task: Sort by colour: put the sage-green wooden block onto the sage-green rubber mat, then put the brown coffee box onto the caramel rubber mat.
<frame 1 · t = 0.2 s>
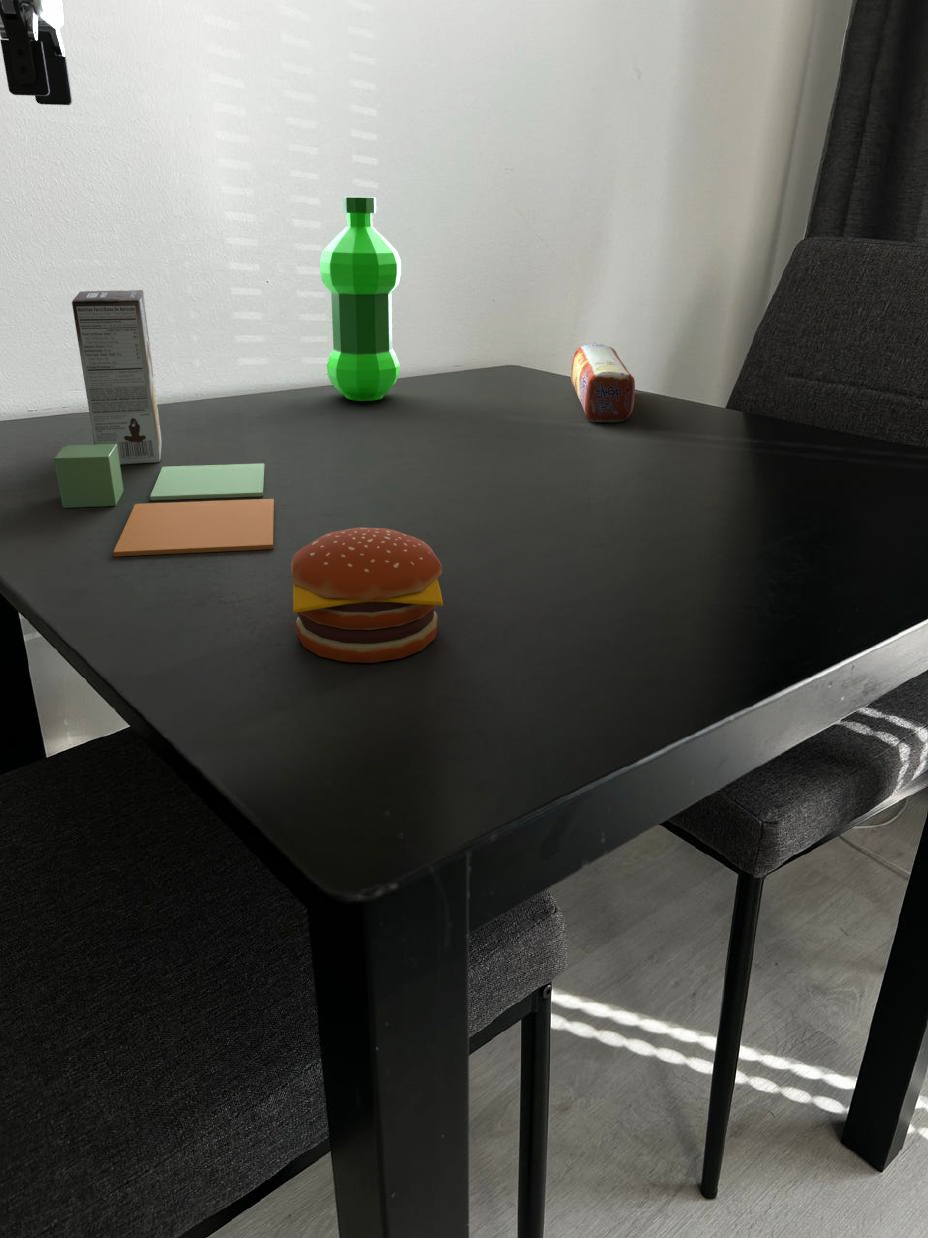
hand: (43, 99, 83), 33 cm above the table, tool pointing down, fingers open, 9 cm apart
hamburger: (366, 634, 59), on the table
green mat: (210, 482, 88), on the table
snack package: (600, 407, 123), on the table
green block: (94, 499, 83), on the table
plastic bottle: (364, 398, 126), on the table
caramel mat: (200, 527, 76), on the table
coffee box: (131, 455, 97), on the table
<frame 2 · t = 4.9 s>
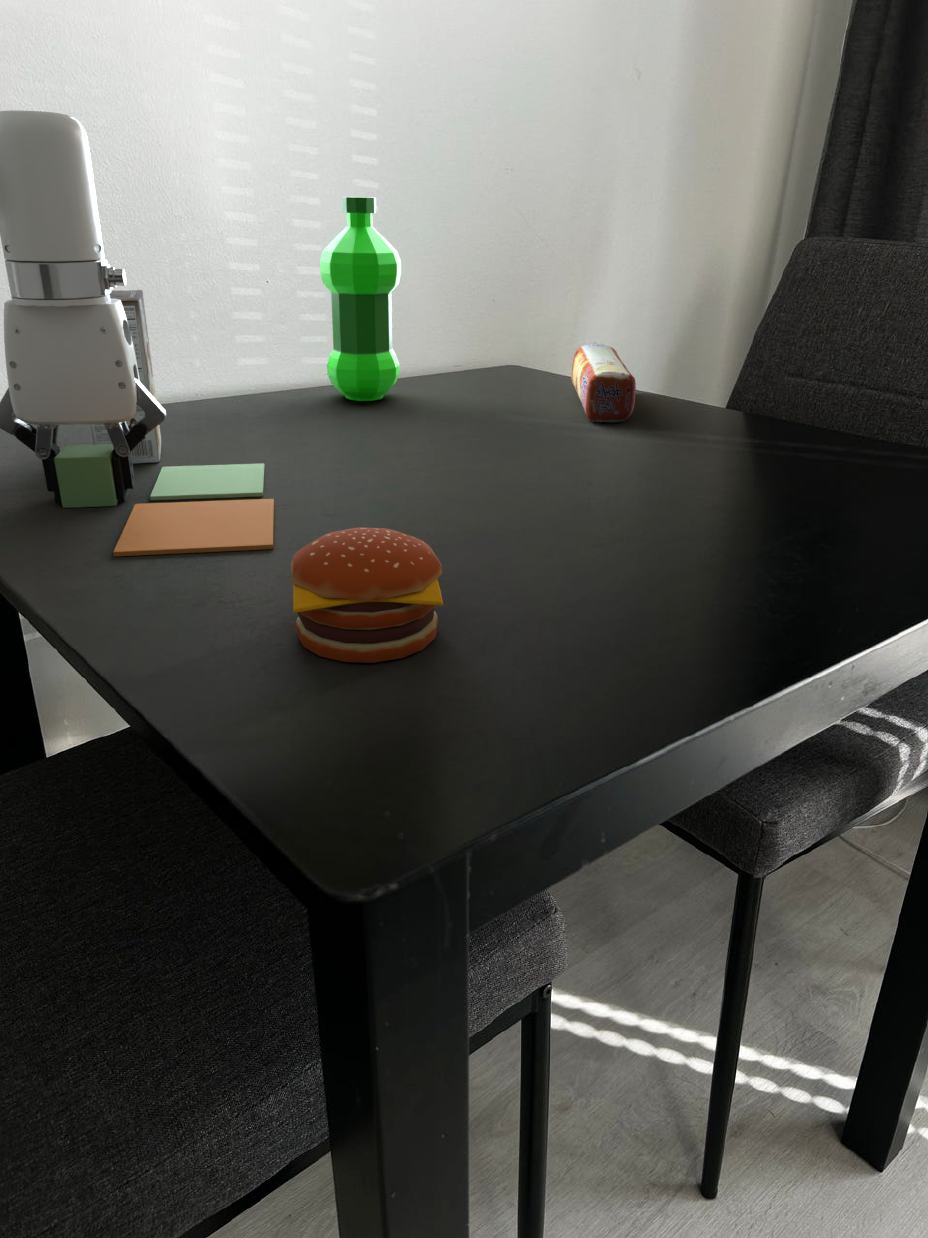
hand: (93, 495, 82), 0 cm above the table, tool pointing down, fingers closed on green block, 4 cm apart
green block: (94, 499, 83), on the table, touching gripper
everything else where it was.
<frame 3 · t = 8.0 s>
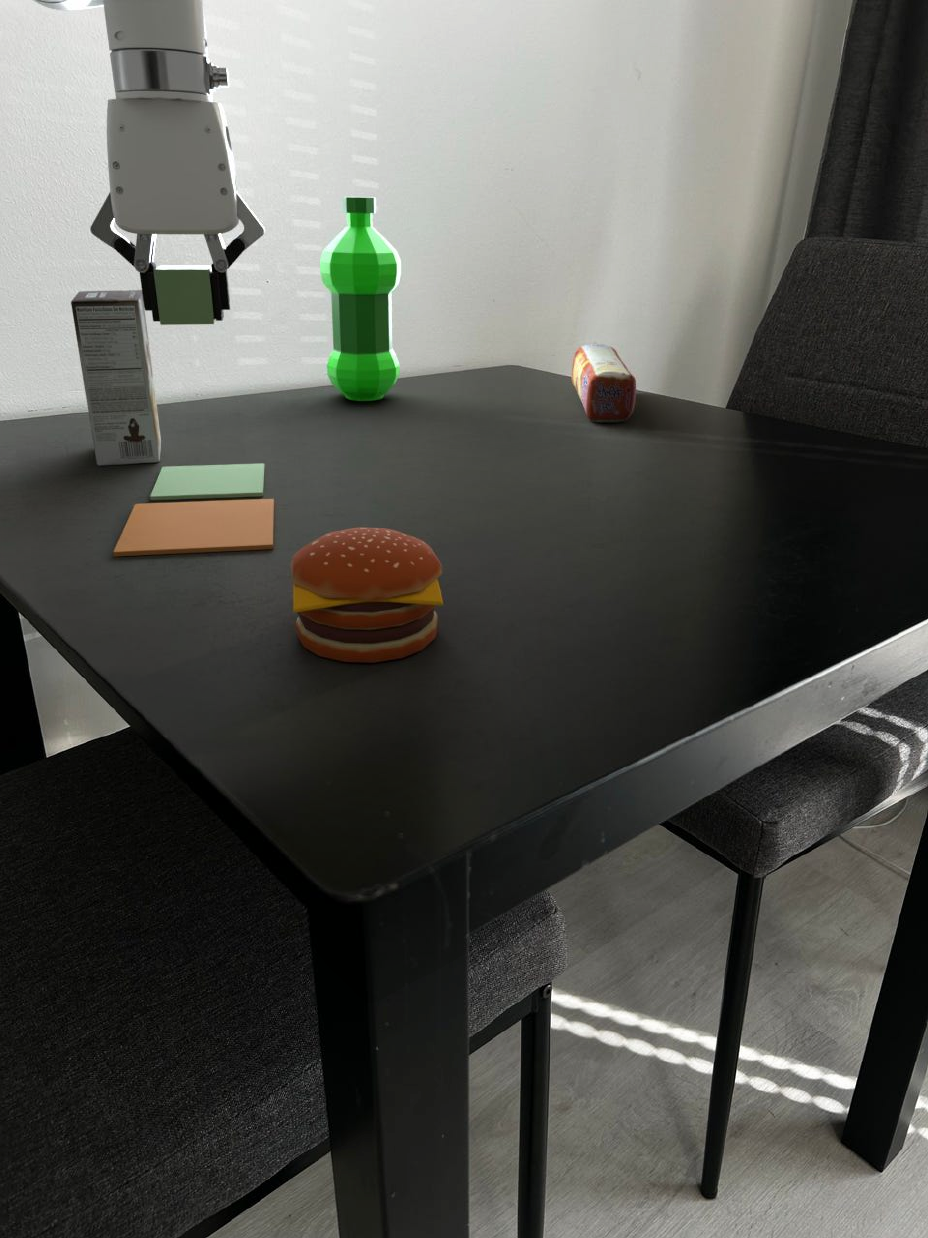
hand: (189, 316, 81), 15 cm above the table, tool pointing down, fingers closed on green block, 4 cm apart
green block: (189, 321, 81), point 15 cm above the table, touching gripper
everything else where it was.
when the fingers open (1 cm above the table, at t = 11.6 s): green block stays where it is, resting on green mat.
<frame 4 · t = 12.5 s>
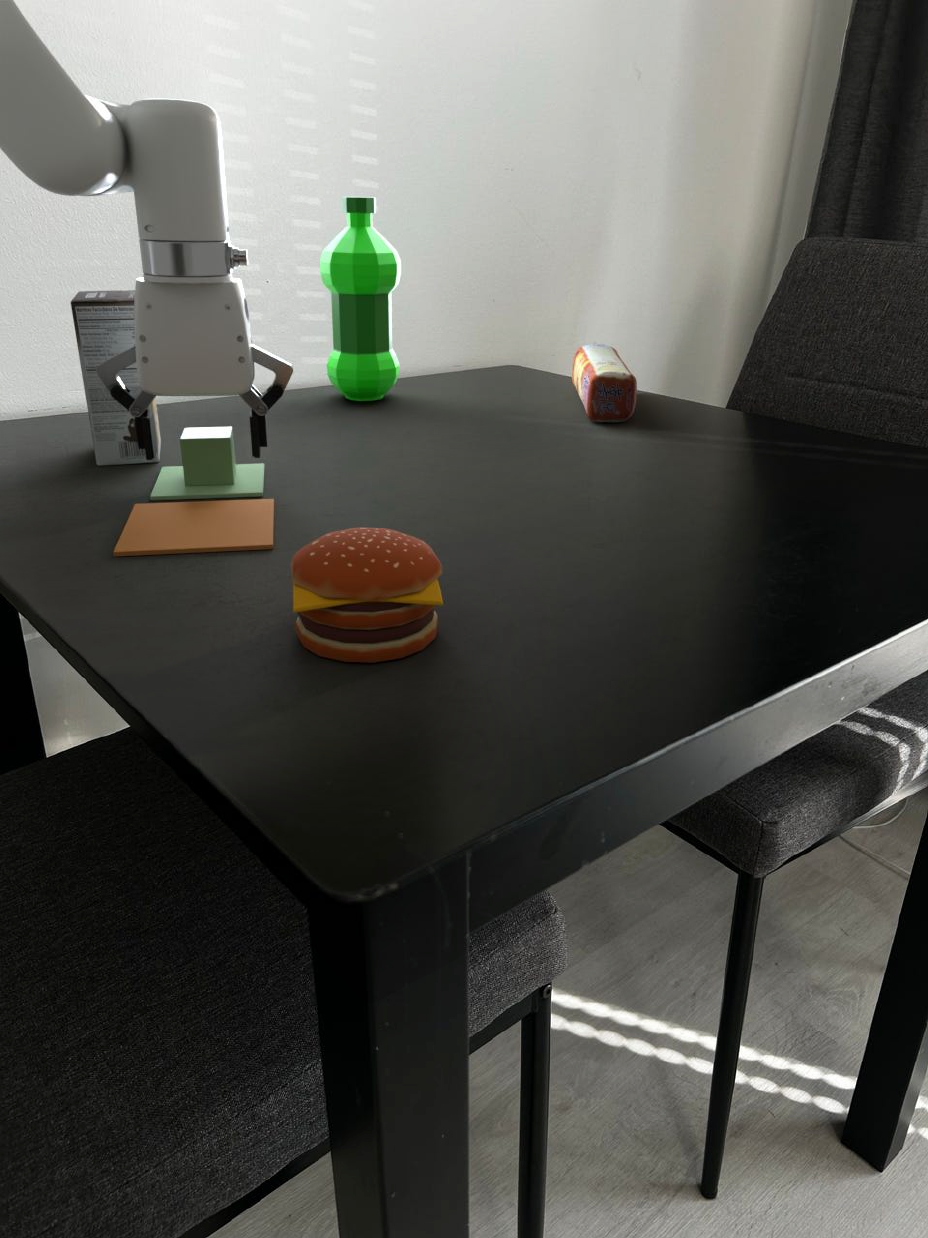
hand: (205, 455, 87), 3 cm above the table, tool pointing down, fingers open, 9 cm apart
green block: (211, 478, 88), resting on green mat
everything else where it was.
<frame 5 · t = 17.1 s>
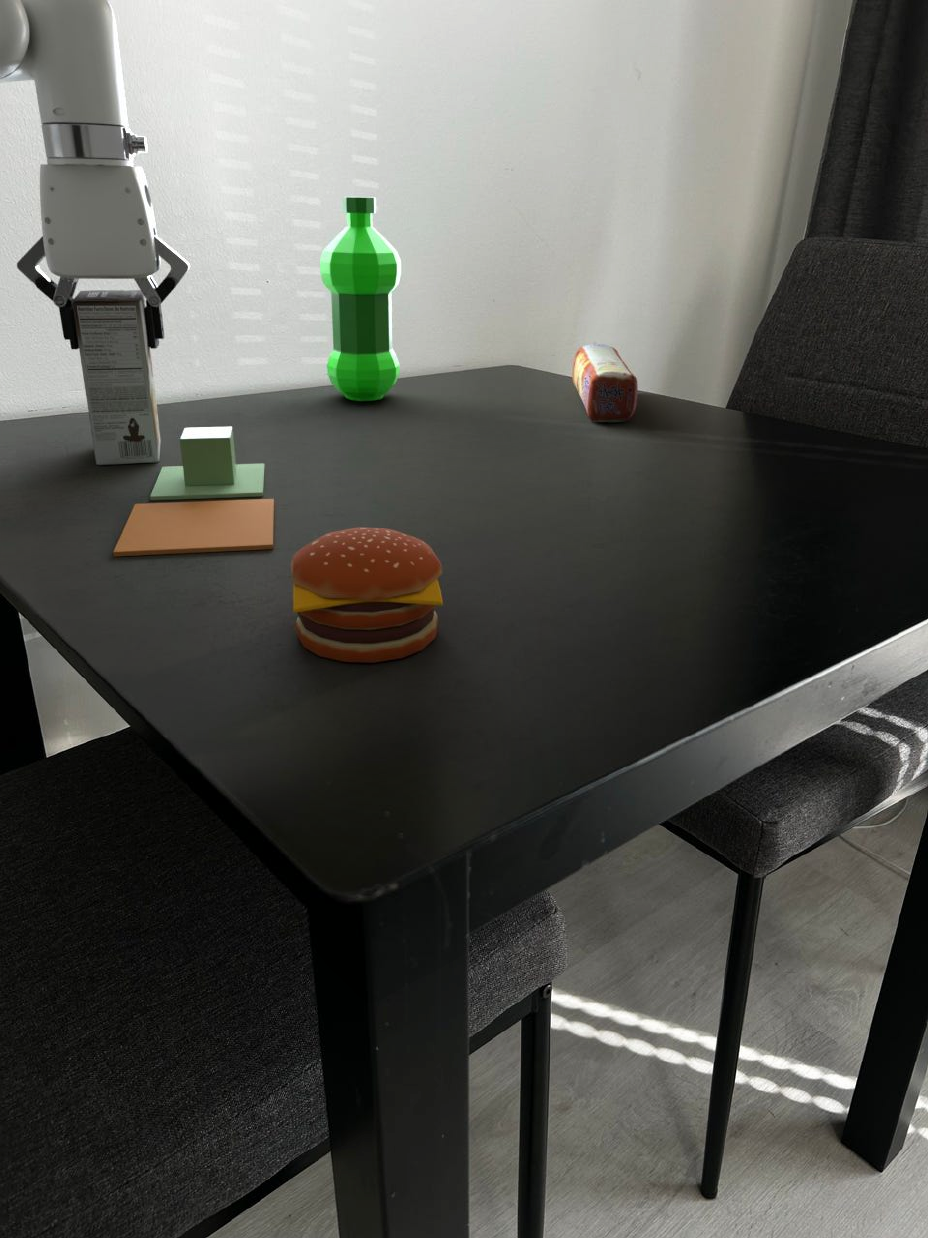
hand: (116, 345, 92), 11 cm above the table, tool pointing down, fingers closed on coffee box, 6 cm apart
coffee box: (130, 455, 97), on the table, touching gripper
everything else where it was.
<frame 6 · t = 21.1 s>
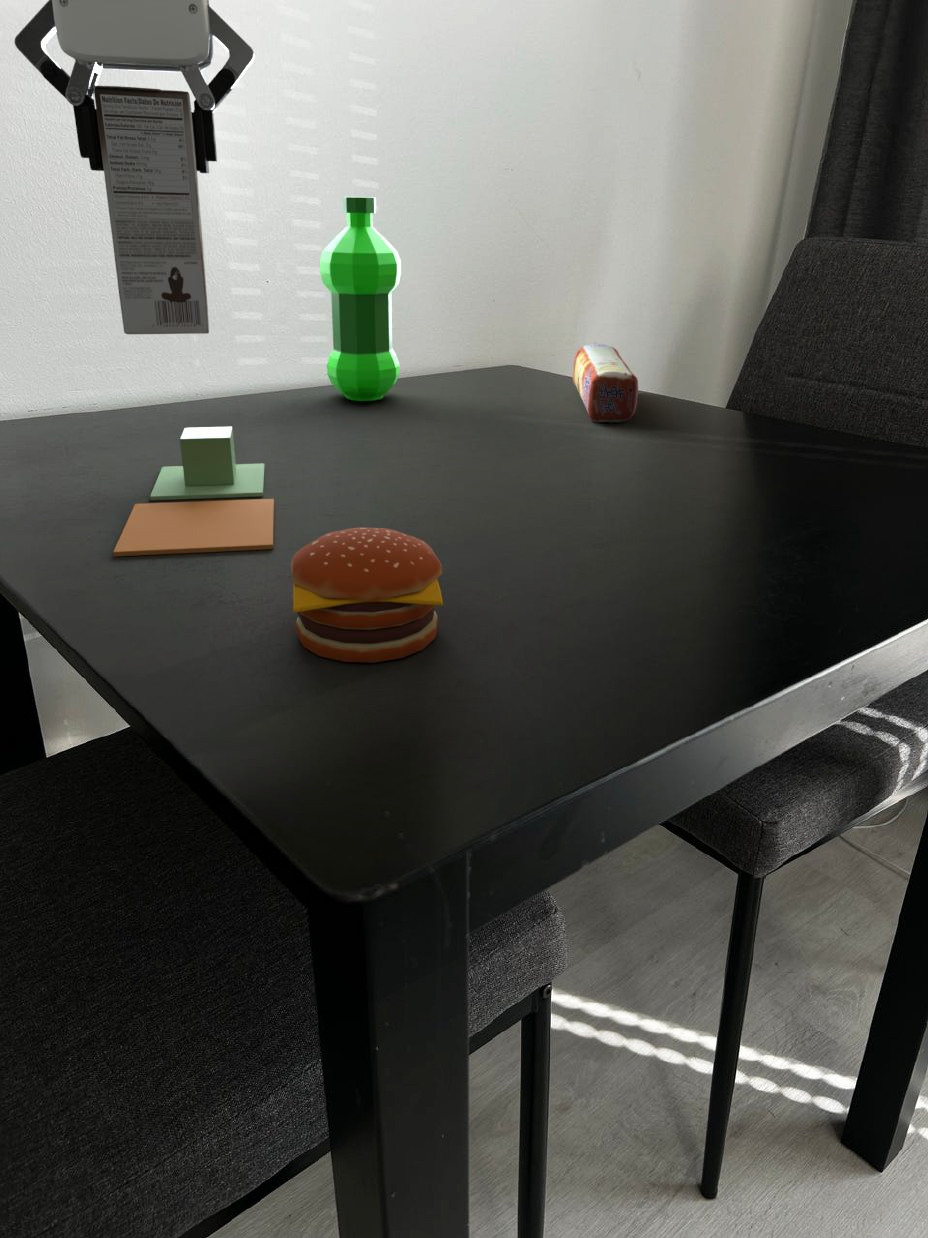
hand: (151, 169, 67), 27 cm above the table, tool pointing down, fingers closed on coffee box, 6 cm apart
coffee box: (168, 329, 72), point 16 cm above the table, touching gripper
everything else where it was.
when the fingers open (12 cm above the table, at t = 25.2 s): coffee box stays where it is, resting on caramel mat.
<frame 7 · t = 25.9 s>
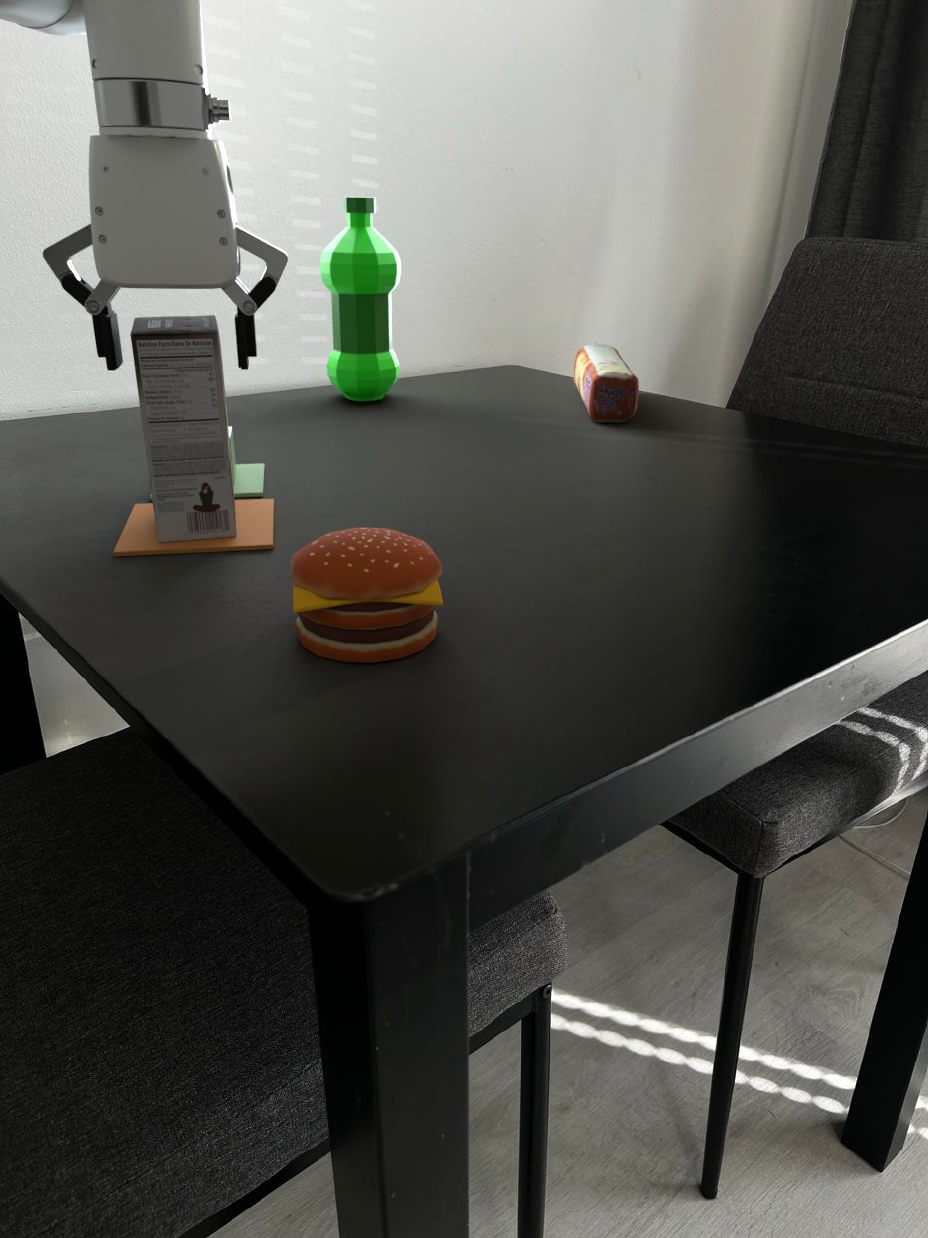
hand: (180, 366, 71), 13 cm above the table, tool pointing down, fingers open, 9 cm apart
coffee box: (197, 525, 76), resting on caramel mat
everything else where it was.
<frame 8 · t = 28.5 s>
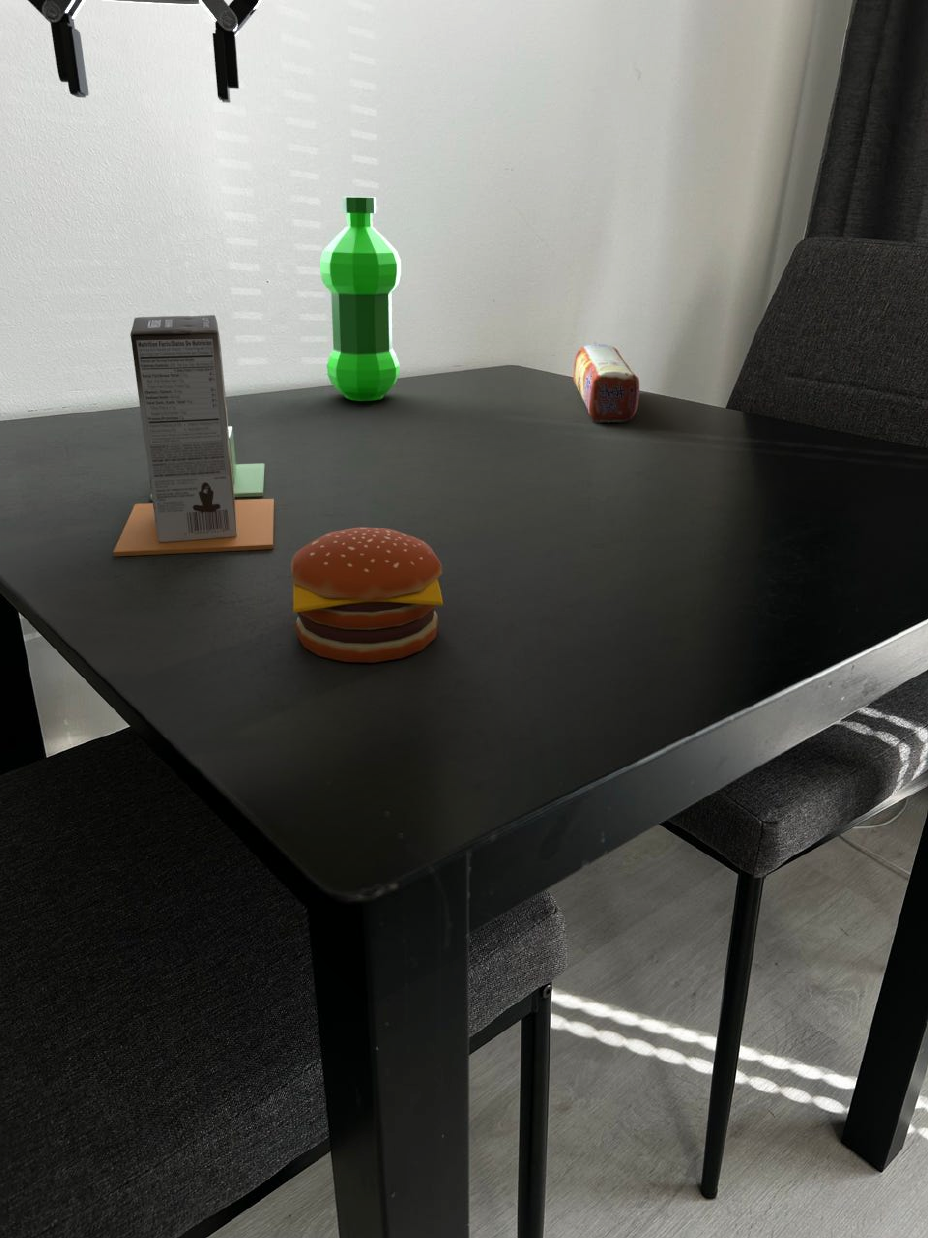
hand: (152, 97, 63), 31 cm above the table, tool pointing down, fingers open, 9 cm apart
nothing on the table moved.
at the end: green block inside the target area on the green mat (0.1 cm from its centre), point 0.4 cm above the green mat's base; coffee box inside the target area on the caramel mat (0.2 cm from its centre), point 0.2 cm above the caramel mat's base; coffee box tilted 0° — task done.
